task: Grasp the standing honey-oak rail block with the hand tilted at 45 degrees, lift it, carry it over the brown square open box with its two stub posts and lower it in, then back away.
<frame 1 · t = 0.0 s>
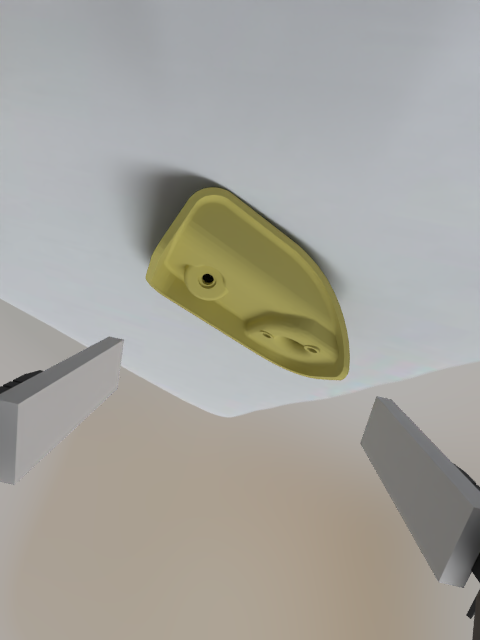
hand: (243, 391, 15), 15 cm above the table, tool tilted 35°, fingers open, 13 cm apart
plastic component: (256, 282, 30), on the table
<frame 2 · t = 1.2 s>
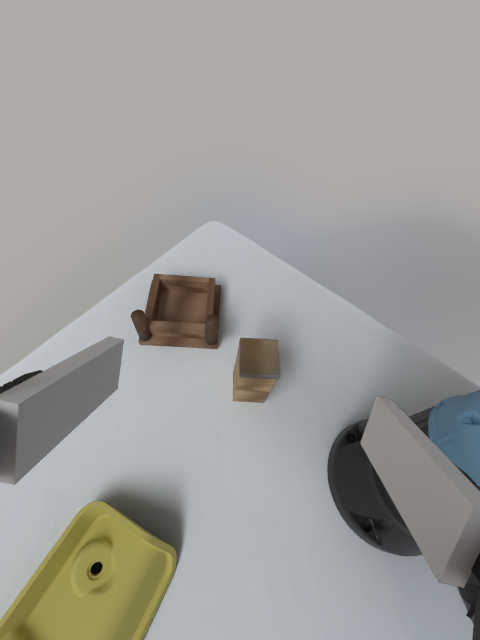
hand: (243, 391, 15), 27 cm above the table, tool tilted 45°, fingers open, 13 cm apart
rail block: (248, 386, 43), on the table
brown square open box: (183, 314, 49), on the table
plastic component: (76, 622, 29), on the table
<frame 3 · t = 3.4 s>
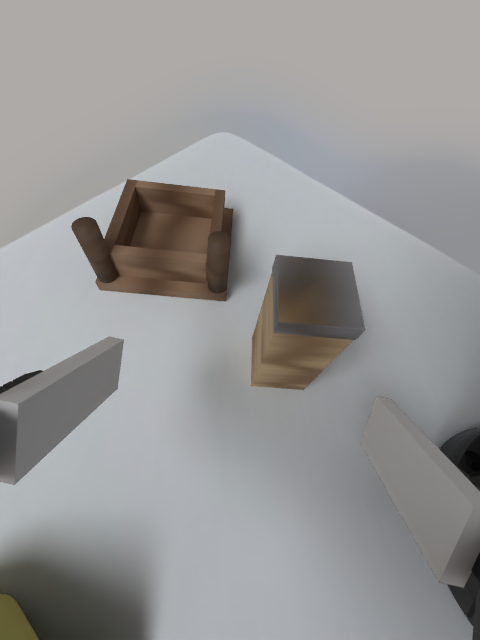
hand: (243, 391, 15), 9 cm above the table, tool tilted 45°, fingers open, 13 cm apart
rail block: (276, 362, 25), on the table
brown square open box: (173, 249, 31), on the table
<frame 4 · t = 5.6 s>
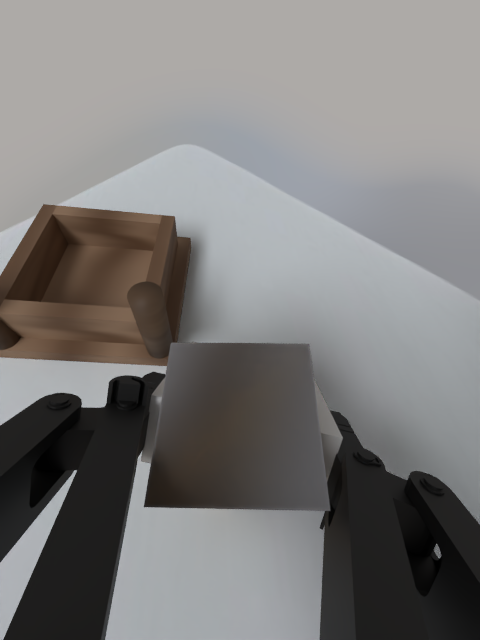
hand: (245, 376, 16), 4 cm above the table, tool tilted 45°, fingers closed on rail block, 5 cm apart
rail block: (241, 460, 18), on the table, tilted 7°, touching gripper
brown square open box: (108, 293, 23), on the table
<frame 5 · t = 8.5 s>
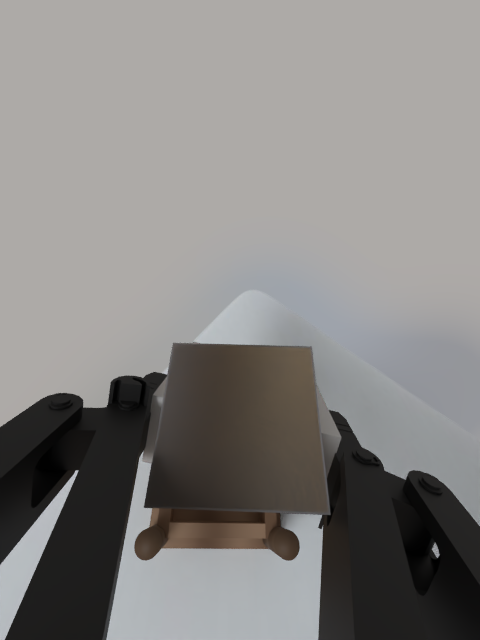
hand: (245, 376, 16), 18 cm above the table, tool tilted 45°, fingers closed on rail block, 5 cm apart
rail block: (240, 461, 18), point 14 cm above the table, tilted 6°, touching gripper
brown square open box: (218, 473, 30), on the table
when the fingers open (6 cm above the table, at t = 11.3 s): rail block drops 1 cm, resting on brown square open box.
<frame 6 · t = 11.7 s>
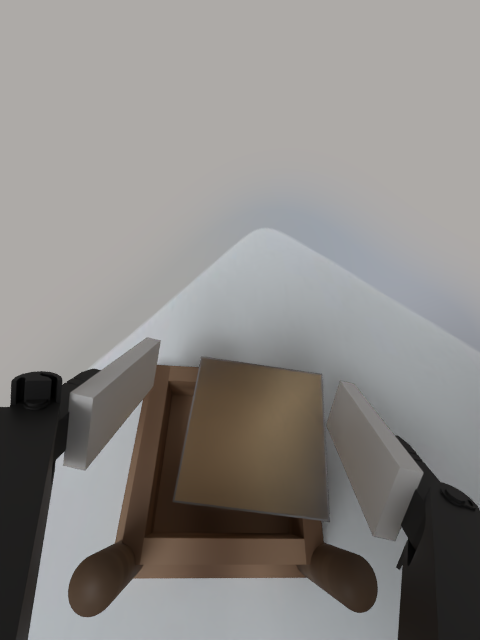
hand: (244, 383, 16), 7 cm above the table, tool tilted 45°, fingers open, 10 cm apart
rail block: (230, 463, 19), point 1 cm above the table, touching brown square open box
brown square open box: (224, 459, 20), on the table
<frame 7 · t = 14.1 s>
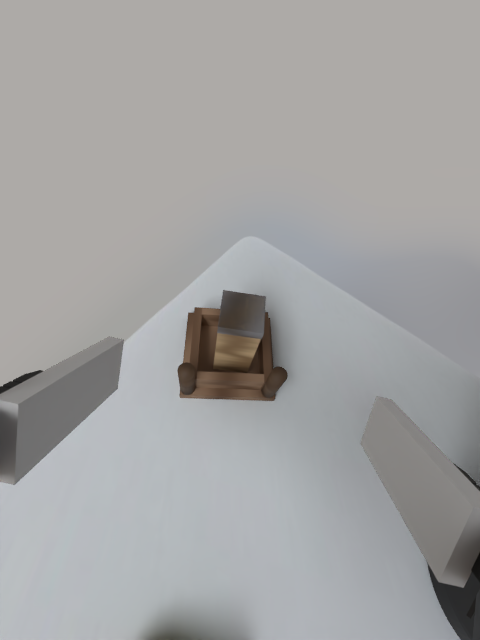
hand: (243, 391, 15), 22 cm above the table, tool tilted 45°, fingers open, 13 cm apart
rail block: (231, 355, 39), point 1 cm above the table, touching brown square open box
brown square open box: (228, 356, 40), on the table
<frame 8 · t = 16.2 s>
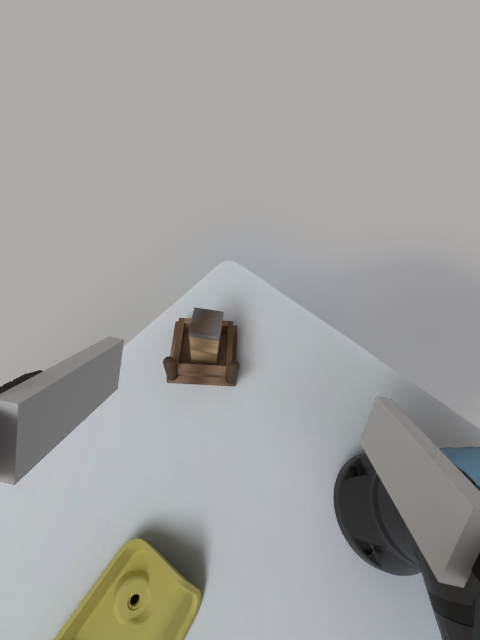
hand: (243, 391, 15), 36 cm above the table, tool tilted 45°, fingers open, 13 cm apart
rail block: (205, 353, 53), point 1 cm above the table, touching brown square open box
brown square open box: (204, 353, 54), on the table
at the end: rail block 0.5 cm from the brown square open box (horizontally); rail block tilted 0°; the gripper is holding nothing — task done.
